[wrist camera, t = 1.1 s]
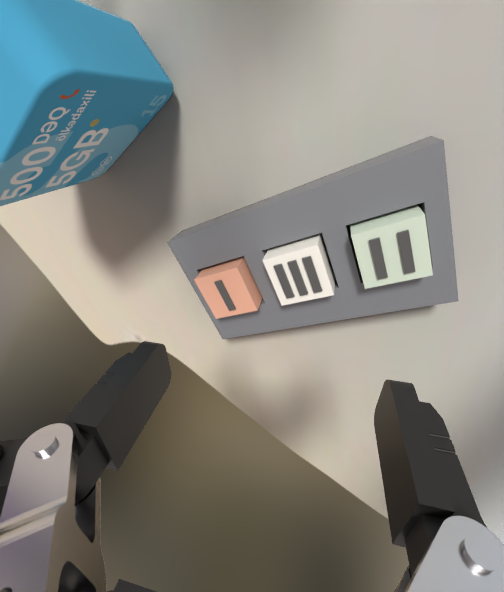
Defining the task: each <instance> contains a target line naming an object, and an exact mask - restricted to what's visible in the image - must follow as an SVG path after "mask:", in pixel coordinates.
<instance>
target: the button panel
mask: <svg viewBox="0 0 504 592" xmlns="http://www.w3.org/2000/svg"><path fill="white" fill-rule="evenodd" d="M416 204H417V205H418V206H419V207H420V209H421V210H422V211H423V213H424V214H425V219H426V226H427V234H428V241H429V249H430V256H431V264H432V271H433V275H432V276H427V277H422V278H417V279H412V280H407V281H402V282H397V283H392V284H387V285H382V286H377V287H372V288H367V289H365V287H364V283H363V279H362V276H361V272H360V268H359V265H358V261H357V257H356V253H355V249H354V245H353V242H352V238H351V234H350V230H349V226H348V225H349V224H353V223H356V222H359V221H363V220H366V219H369V218H373V217H376V216H380V215H383V214H386V213H390V212H393V211H396V210H400V209H403V208H406V207H410V206H413V205H416ZM319 233H322V235H323V238H324V241H325V244H326V248H327V251H328V254H329V257H330V261H331V264H332V267H333V270H334V276H335V285H334V295H332V296H327V297H322V298H317V299H312V300H307V301H302V302H297V303H292V304H288V305H283V306H282V305H281V303H280V300H279V298H278V296H277V293H276V291H275V289H274V286H273V284H272V282H271V279H270V277H269V275H268V272H267V270H266V268H265V265H264V263H263V261H262V260H263V258H264V256H265V254H266V253H267V251H268V249H269V248H272V247H276V246H279V245H282V244H286V243H289V242H292V241H296V240H299V239H302V238H306V237H309V236H312V235H316V234H319ZM167 243H168V245H169V246H170V248H171V250H172V252H173V253H174V255H175V257H176V259H177V260H178V262H179V264H180V266H181V267H182V269H183V271H184V273H185V274H186V276H187V278H188V279H189V281H190V283H191V285H192V286H193V288H194V290H195V292H196V293H197V295H198V297H199V299H200V300H201V302H202V304H203V306H204V307H205V309H206V311H207V313H208V314H209V316H210V318H211V320H212V321H213V323H214V325H215V327H216V328H217V330H218V332H219V334H220V335H221V337H222V339H228V338H234V337H240V336H246V335H252V334H258V333H265V332H271V331H277V330H283V329H289V328H295V327H302V326H308V325H314V324H320V323H326V322H332V321H339V320H345V319H351V318H357V317H363V316H370V315H376V314H382V313H388V312H394V311H400V310H407V309H413V308H419V307H425V306H431V305H437V304H444V303H450V302H456V301H458V291H457V281H456V270H455V259H454V248H453V237H452V226H451V216H450V205H449V194H448V183H447V172H446V161H445V151H444V140H441V139H438V138H435V137H432V136H430V137H427V138H425V139H422V140H420V141H417V142H414V143H412V144H409V145H406V146H404V147H401V148H399V149H396V150H393V151H391V152H388V153H385V154H383V155H380V156H378V157H375V158H372V159H370V160H367V161H364V162H362V163H359V164H357V165H354V166H351V167H349V168H346V169H343V170H341V171H338V172H336V173H333V174H330V175H328V176H325V177H322V178H320V179H317V180H315V181H312V182H309V183H307V184H304V185H301V186H299V187H296V188H294V189H291V190H288V191H286V192H283V193H280V194H278V195H275V196H273V197H270V198H267V199H265V200H262V201H259V202H257V203H254V204H252V205H249V206H246V207H244V208H241V209H238V210H236V211H233V212H231V213H228V214H225V215H223V216H220V217H217V218H215V219H212V220H210V221H207V222H204V223H202V224H199V225H196V226H194V227H191V228H189V229H186V230H183V231H181V232H180V233H179V234H177V235H176V236H175V237H174V238H172V239H171V240H170V241H168V242H167ZM242 256H244V258H245V260H246V262H247V265H248V267H249V269H250V271H251V273H252V276H253V278H254V280H255V282H256V284H257V286H258V289H259V291H260V293H261V295H262V297H263V298H262V301H261V303H260V306H259V308H258V310H257V311H253V312H248V313H243V314H238V315H233V316H228V317H223V318H218V319H216V318H215V316H214V315H213V313H212V311H211V309H210V307H209V306H208V304H207V302H206V300H205V299H204V297H203V295H202V293H201V291H200V290H199V288H198V286H197V284H196V283H195V281H194V279H195V278H196V277H197V275H198V274H199V273H200V272H201V271H202V270H203V268H205V267H209V266H212V265H215V264H219V263H222V262H225V261H229V260H232V259H235V258H239V257H242Z"/></svg>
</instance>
